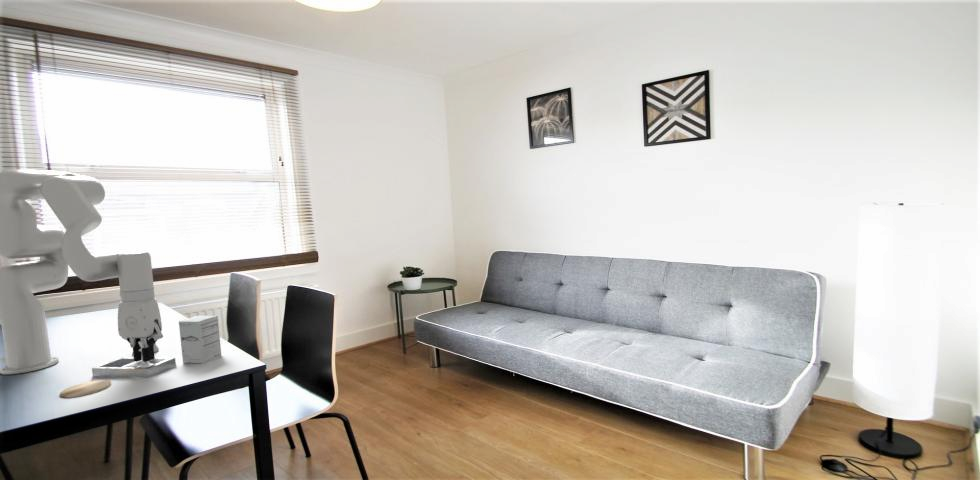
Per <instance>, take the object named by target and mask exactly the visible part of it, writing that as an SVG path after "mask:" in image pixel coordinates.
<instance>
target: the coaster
mask: <svg viewBox="0 0 980 480" xmlns="http://www.w3.org/2000/svg"><path fill="white" fill-rule="evenodd" d="M111 385H112V382H111V380H108V379H103V380H102V379H100V380H94V381H93V380H92V381H88V382H82V383H80V384H75V385H73V386H70V387H68V388H65V389H63V390H61V391H60V392H59V397H60V398H63V399H64V398H66V399H67V398H68V399H69V398H78V397H83V396H88V395H92V394H94V393H95V394H96V393H98V392H101V391H103V390H106V389H107V388H109V387H111Z"/></svg>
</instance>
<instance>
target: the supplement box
mask: <svg viewBox="0 0 980 480" xmlns="http://www.w3.org/2000/svg"><path fill="white" fill-rule="evenodd" d="M178 326H179V328H178V329H179V336H180V338H179V339H180V347H181V357H182V362H183V364H185V363H193V364H194V363H195V364H204V363H207V362H210V361H212V360H214V359H217V358H220V357H222V347H221V336H220V325H219V316H218V315H195V316H191V317H188V318H186V319H185V318H184V319H182V320H179V321H178Z"/></svg>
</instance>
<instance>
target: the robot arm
mask: <svg viewBox="0 0 980 480" xmlns="http://www.w3.org/2000/svg"><path fill="white" fill-rule="evenodd" d="M105 197H106V191H105V188H104V186H103V184H101V182H100V181H99V180H98V179H96V178H94V177H91V176H88V175H87V176H86V175H82V174H81V175H80V174H77V173H72V172H67V171H60V170H59V171H58V170H41V169H40V170H37V169H7V170H6V169H5V170H1V171H0V256H1V257H2V258H4V259H7V260H23V259H31V258H32V259H33V258H39V260H36V261H35V260H34V261H33V260H32V261H24V262H17V263H16V262H15V263H9V264H4V265H1V266H0V323H1V324H0V325H1V331H2V339H3V346H4V352H5V355H4V357H0V363H2V362H3V363H5V366H3V367H1V368H0V374H1V375H8V376H9V375H18V374H25V373H29V372H33V371H38V370H42V369H46V368H49V367H51V366H53V365H56V364H57V363H59V357H56V356H52V354H51V345H50V341H49V340H50V339H49V333H48V331H49V330H48V325H47V317H46V312H45V311H46V310H45V306H44V305H43V303H42V302H41V301H40V300H39V298H37V296H35V295H34V294H36V293H41V292H46V291H51V290H57V289H59V288H61V287H63V286H64V285H65V284H66V283H67V281H68V277H69V268H70V270H71V271H72V272H73V274H74V275H76V277H77V278H79V279H80V280H82V281H84V282H97V281H99V282H100V281H103V280H108V279H115V278H118V282H119V283H118V284H119V291H120V292H119V296H120V301H119V302H118V308H117V330H118V331H117V332H118V336H119V337H121V339H123V340H125V341H127V342H128V343H129V346H130V348H132V353H133V355H132V356H133V357H134V361H135V362H137V361H140V360H141V357H143V362H147V361H150V360H152V359H154V358H156V357H155V352H154V346H153V345H155V343H157V342H158V340H160V339H163V337H164V334H163V333H162V330H163V324H162V318H161V313H160V307H159V304H158V302H157V299H156V297H155V296H156V295H155V287H154V285H155V284H154V276H153V265H152V256H151V254H150V253H149V252H148V251H145V250H136V251H134V250H133V251H131V250H124V249H121V250H120V249H119V250H112V251H99V252H92V253H91V252H90V251H89V249H88V248H87V247H86V246H85V244H84V242H83V239H82V237H83V236H85V235H87V234H89V233H90V232H92V231H94V230H95V229H96V228H98V227H99V226H100V225H101V223H102V220H103V218H102V216H101V214H100V213H99V211H98V210H97V209H96V207H95V206H96V205H100V204H101V203H102V202H103V201H104V200H105ZM29 200H45V202H46V203H47V205H48V206H49V207H50V210H51V211H52V212H53V213H54V215H55V216H56V218H57V219H58V221H59V223H61V225H62V226H63V227H64V229H65V232H64V230H63V229H61V228H59V227H58V226H55V225H49V224H47V225H46V224H43V225H42V224H41V225H38V213H37V211H36V209H35V206H33V205H32V203H30V201H29ZM141 338H142V339H143V347H144V348H142V351H139V349H141V347H140V345H139V343H138V342H139V341H141ZM148 338H150V339H149V340H148Z"/></svg>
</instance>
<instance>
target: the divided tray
mask: <svg viewBox="0 0 980 480" xmlns="http://www.w3.org/2000/svg"><path fill="white" fill-rule="evenodd" d="M148 362H150V363H153V364H154V365H151V366H149V367H137V366H139V365H140V364H141V360H140V361H137V362H135V361H134V356H133V357H130V356H128V357H127V356H125V357H120V358H116V359H113V360H112V361H111V360H110V361H107V362H105V363H103V364H100V365H97V366H95V367H92V368H91V373H92V377H95V378H96V377H97V378H151V377H154V376H155V375H158V374H160V373H162V372H164V371H167V370H169V369H171V368H174V367H176V366H177V363H176V362H177V361H176V357H155V358H154V359H152V360H150V361H148Z"/></svg>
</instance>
